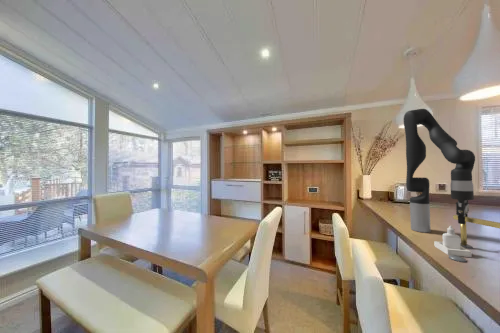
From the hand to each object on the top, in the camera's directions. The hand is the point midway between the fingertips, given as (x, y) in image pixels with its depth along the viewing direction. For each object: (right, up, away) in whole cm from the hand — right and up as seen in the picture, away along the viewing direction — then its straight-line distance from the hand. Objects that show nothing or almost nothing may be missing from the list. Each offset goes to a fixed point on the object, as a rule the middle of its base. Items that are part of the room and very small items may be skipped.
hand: (463, 222), depth 92 cm
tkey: (+1, -11, -6) cm, 12 cm away
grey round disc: (-17, -12, -12) cm, 24 cm away
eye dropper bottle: (-11, -12, -5) cm, 17 cm away
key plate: (0, -12, 0) cm, 12 cm away
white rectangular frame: (-11, -12, -5) cm, 17 cm away
